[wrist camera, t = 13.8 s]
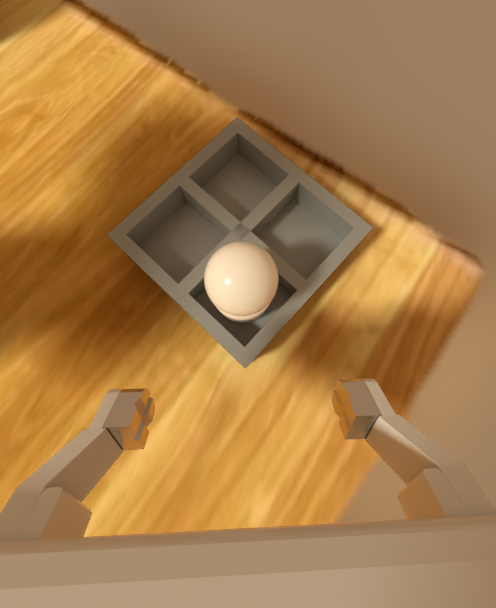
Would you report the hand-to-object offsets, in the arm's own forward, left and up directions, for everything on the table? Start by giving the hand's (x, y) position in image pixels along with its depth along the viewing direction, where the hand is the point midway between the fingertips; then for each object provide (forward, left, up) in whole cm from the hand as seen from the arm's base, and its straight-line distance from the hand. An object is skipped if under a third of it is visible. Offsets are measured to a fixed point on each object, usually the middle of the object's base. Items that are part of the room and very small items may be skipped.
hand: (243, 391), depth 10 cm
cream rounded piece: (-4, +4, -11) cm, 13 cm away
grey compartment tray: (-8, +8, -12) cm, 17 cm away
